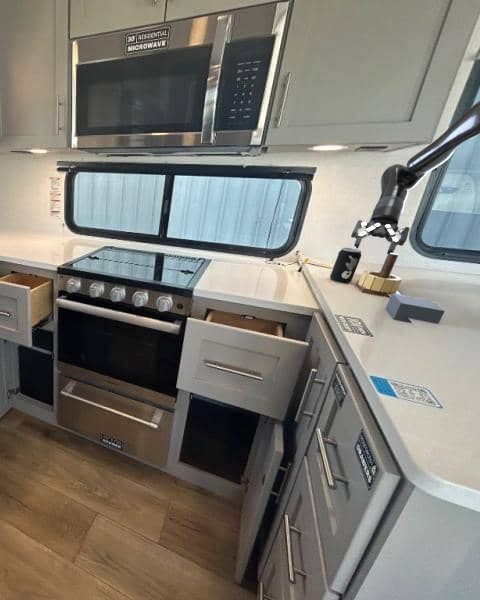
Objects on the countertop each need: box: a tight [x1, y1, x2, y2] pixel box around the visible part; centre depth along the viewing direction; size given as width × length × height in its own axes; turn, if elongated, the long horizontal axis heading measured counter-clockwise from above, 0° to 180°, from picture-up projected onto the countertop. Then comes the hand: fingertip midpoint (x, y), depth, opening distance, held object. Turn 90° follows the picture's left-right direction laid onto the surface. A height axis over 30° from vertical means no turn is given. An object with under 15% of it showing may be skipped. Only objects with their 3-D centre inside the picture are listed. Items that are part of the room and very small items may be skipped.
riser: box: [385, 293, 446, 325], centre depth 93 cm, size 9×9×5 cm
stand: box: [356, 252, 402, 298], centre depth 111 cm, size 10×10×14 cm
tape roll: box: [357, 270, 403, 293], centre depth 113 cm, size 10×10×4 cm
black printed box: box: [329, 247, 362, 284], centre depth 121 cm, size 7×7×12 cm
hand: (372, 249), depth 110 cm, fingers open, 8 cm apart
